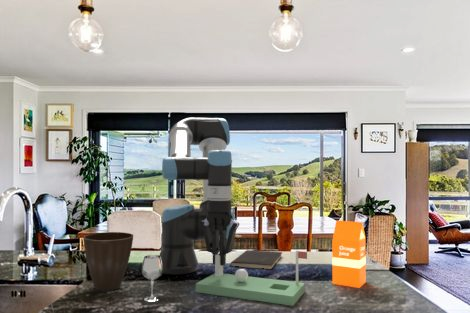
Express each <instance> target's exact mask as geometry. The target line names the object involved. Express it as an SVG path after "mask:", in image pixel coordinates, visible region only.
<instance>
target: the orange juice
mask: <svg viewBox="0 0 470 313" xmlns="http://www.w3.org/2000/svg"><path fill="white" fill-rule="evenodd" d="M365 233H366V232H365V229H364V225H363V222H362V221H349V220H336V221H335V226H334V230H333V237H332V240H331V241H332V246H331V247H332V251H331V252H332V257H331V258H332V259H331V260H332V261H331V262H332V263H331V264H332V265H331V266H332V267H331V268H332V285H340V286H345V287H351V288H358V289H360V288H361V287H362V286H363V285H364V284H366V283H367V281H366V280H367V275H366V271H367V270H366V268H367V267H366V266H367V265H366V264H367V261H366V260H367V256H366V253H367V251H366V234H365Z"/></svg>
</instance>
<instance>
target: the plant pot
mask: <svg viewBox="0 0 470 313" xmlns="http://www.w3.org/2000/svg"><path fill="white" fill-rule="evenodd" d="M133 241H134V234H133V233H130V232H122V231H121V232H119V231H117V232H116V231H107V232H96V233H89V234H86V235H84V236H83V245H84V254H85V259H86V263H87V267H88V272H89V275H90V278H91V280H92V284H93V287H94V288H95V290H97V291H100V292H101V291H102V292H103V291H104V292H106V291H107V292H108V291H115V290H117V289H119V288H120V287H121V285H122V283H123V279H124V278H125V275H126V272H127V271H126V270H127V267H128V264H129V261H130V257H131V252H132V247H133Z"/></svg>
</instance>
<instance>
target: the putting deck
mask: <svg viewBox="0 0 470 313" xmlns="http://www.w3.org/2000/svg"><path fill="white" fill-rule="evenodd" d="M299 259H303V260H304V259H306V260H307V259H308V252H307V251H299V250H298V249H297V250H295V281H290V280H284V279H283V280H282V279H274V278H272V279H271V278H264V277H255V276H249V275H248V278H247V280H246V281H245V282H238V281H237V280H236V278H235V274H230V273H223V275H222V276H220V277H217V276H215V272H214V273H213V274H211V275H208V276H207V277H205V278H203V279H202V280H200V281H198V282H196V283H195V293H201V294H207V295H215V296H220V297H227V298H228V297H229V298H236V299H242V300H243V299H244V300H248V301H249V300H250V301H257V302H264V303H270V304H271V303H272V304H279V305H286V306H294V305H296V303H297V302H298V301H299V300H300V298H301V297H302V296H303V294H304V293H305V292H306V282H300V281H299Z"/></svg>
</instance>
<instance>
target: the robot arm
mask: <svg viewBox="0 0 470 313" xmlns="http://www.w3.org/2000/svg"><path fill="white" fill-rule="evenodd" d="M168 135H169V136H168V139H169V140H168V141H169V143H170V150H169V156H167V157H163V158H162V161H161V162H162V163H161V164H162V165H161V175H162V178H163V179H164V180H172V181H185V180H194V181H195V180H197V181H199V180H201V181H202V185H203V186H202V187H203V188H202V189H203V191H202V194H203V195H202V196H203V197H202V198H203V201H202V202H200V203H199V208H195V206H194V204H181V205H173V206H169V207H166V208H164V209H163V210H162V212H161V250H160V252H159V254H158V255H159V256H161V259H162V265H163V270H162V274H165V275H186V274H192V273H195V272H197V271H199V262H198V258H197V254H196V251H195V247H194V241H204V242H205V247H206V251H207V252H208V253H211V254H212V265H213V266H214V273H215V276H217V277H220V276H222V275H223V274H224V266H225V265H226V263H227V260H226V258H227V254H229V253H232V251H233V246H234V243H235V237H236V233H237V229H238V228H239V226H240V223H239V222H237V221H235V208H233V207H232V200H230V199H232V197H233V196H232V194H233V193H232V192H233V191H232V172H233V171H232V169H233V168H232V165H233V164H232V163H233V159H232V152H231V151H230V150H226V149H227V146H230V144H231V143H230V142H231V137H230V136H231V134H230V126H229V123H228V121H227V120H226V119H225V118H222V117H186V118H184V119H181V120H179V121H178V122H176V123H175V124H174V125H173V126H171V128H170V130H169V133H168ZM191 146H198V149H199V151H201V152H202V157H192V156H191V150H192V149H191Z"/></svg>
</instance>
